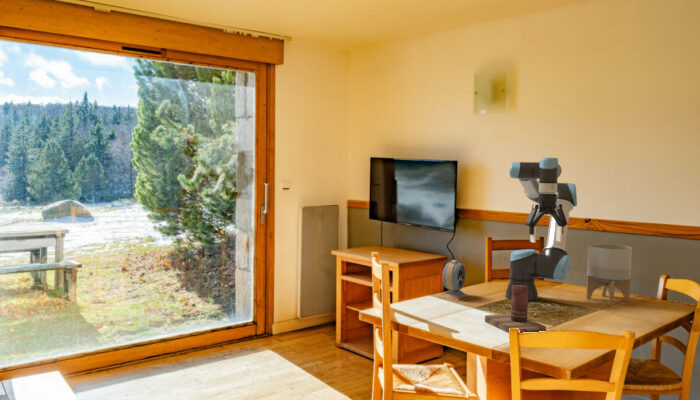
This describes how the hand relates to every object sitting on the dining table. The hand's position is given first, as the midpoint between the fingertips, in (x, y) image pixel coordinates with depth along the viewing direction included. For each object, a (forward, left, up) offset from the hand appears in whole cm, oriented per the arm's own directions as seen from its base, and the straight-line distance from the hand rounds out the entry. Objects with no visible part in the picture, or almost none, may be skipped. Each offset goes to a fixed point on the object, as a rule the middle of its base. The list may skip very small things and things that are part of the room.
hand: (546, 241), depth 239 cm
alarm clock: (-35, -25, -31) cm, 53 cm away
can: (+18, -26, -28) cm, 42 cm away
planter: (-9, +44, -31) cm, 55 cm away
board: (+19, -28, -31) cm, 46 cm away
